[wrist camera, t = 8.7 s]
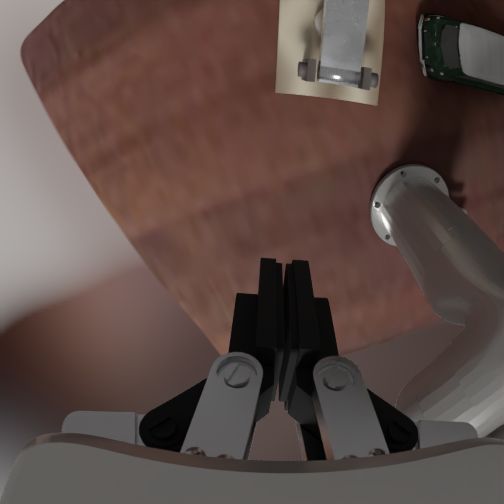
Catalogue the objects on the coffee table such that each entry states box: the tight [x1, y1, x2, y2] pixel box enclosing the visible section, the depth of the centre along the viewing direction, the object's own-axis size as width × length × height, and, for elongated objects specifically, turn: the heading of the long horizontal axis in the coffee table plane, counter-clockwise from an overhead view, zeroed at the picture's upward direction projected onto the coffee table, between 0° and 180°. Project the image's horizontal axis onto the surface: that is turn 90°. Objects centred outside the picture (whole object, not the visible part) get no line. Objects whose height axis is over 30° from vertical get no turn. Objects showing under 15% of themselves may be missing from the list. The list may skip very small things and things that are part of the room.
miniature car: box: [418, 13, 504, 95], centre depth 23 cm, size 9×18×8 cm, turn 96°
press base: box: [275, 0, 385, 106], centre depth 24 cm, size 12×22×7 cm, turn 178°
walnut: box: [314, 8, 324, 37], centre depth 25 cm, size 4×4×4 cm
